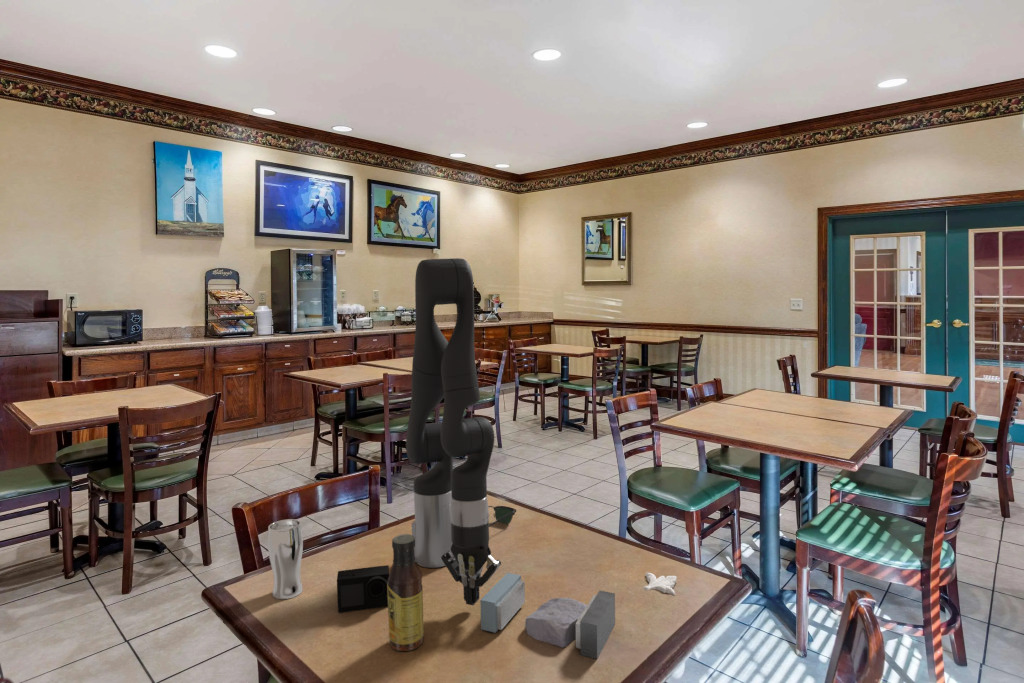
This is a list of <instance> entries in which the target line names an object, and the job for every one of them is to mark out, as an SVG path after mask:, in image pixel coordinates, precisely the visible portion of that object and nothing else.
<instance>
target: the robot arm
mask: <svg viewBox="0 0 1024 683" xmlns="http://www.w3.org/2000/svg"><path fill="white" fill-rule="evenodd" d="M414 283H415V284H414V288H415V289H414V290H415V292H414V294H415V295H414V296H415V301H414V302H415V303H414V304H415V306H414V307H415V332H414V341H413V342H414V343H413V344H414V345H413V354H412V363H411V364H412V368H411V397H410V408H409V416H408V422H407V430H406V439H405V449H406V450H405V451H406V456H407V458H408V460H409V461H410V462H411V463H413V464H428V463H429V464H430V463H436V464H435V465H434V466H433V467H432V468H430V469H429V470H427V471H426V472H424V473H422V474H420V475H418V476H417V477H416V478H415V479H414V482H413V496H414V497H413V499H414V501H413V502H414V520H413V521H411V535H413V536H414V537H415V547H414V557H415V563H416V564H417V565H418V566H421V567H423V568H432V569H433V568H434V569H435V568H442V567H446V569H447V570H448V572H449V574H451V577H452V578H453V580H454V581H455V582H458V583H461V584H462V586H463V589H462V590H463V599H464V601H465V604H466V605H469V606H474V605H475V604H477V602H478V601H479V600H480V588H482V587H483V586H484V585H485V584H486V583H487V582H488V581H489V580H490V579H491V577H492V576H493V575H494V574H495V572H496V571H497V570H498V569H499V567H501V565H502V562H501V560H500V559H495V558H494V557H493V556H492V551H491V547H489V544H490V527H489V525H490V524H489V522H490V521H489V520H490V513H489V512H490V511H489V507H488V506H489V502H488V492H487V491H488V489H487V488H488V487H487V483H488V482H487V475H488V470H489V466H490V462H491V458H492V453H493V450H494V445H495V430H494V428H493V425H492V423H491V422H490V420H489V419H488V418H486V417H482V416H475V417H470V418H469V417H468V418H464V413H465V410H466V409H467V408H469V407H471V406H473V405H476V404H477V403H479V401H480V396H481V395H480V388H479V387H480V386H479V378H478V373H477V366H476V355H475V287H474V286H475V285H474V276H473V273H472V268H471V266H470V264H469V261H467V260H466V259H464V258H461V257H460V258H453V257H452V258H430V259H429V258H428V259H423V260H421V261H419V263H418V264H417V267H416V270H415V278H414ZM436 305H437V306H439V305H442V306H443V305H455V306H456V320H455V326H454V329H453V332H452V334H451V336H450V338H449V341H448V340H447V338H446V337H445V335H444V333H442V331H441V329H440V328H439V326H438V324H437V322H436V319H435V313H434V312H435V307H436ZM443 399H444V403H443V411H442V412H443V413H442V421H441V422H431V423H430V422H429V423H427V420H429V419H428V418H429V417H430V415H431V414H432V413H433V411H434V409H436V407H437V406H438V405H439V404H440V403H441V402H442V400H443ZM464 456H465V457H466V456H468V457H467V458H466V460H465V461H464V462H463V463H461V464H460V465H457V466H456V467H454V464H453V463H454V462H453V461H454V458H459V457H464ZM485 563H486V566H485V567H486V570H485V572H484V573H483V574H482V571H483V566H484V565H485Z"/></svg>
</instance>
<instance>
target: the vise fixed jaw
mask: <svg viewBox="0 0 1024 683" xmlns="http://www.w3.org/2000/svg"><path fill="white" fill-rule="evenodd" d="M586 605H587V606H586V608H585V609H584V611H583V613H582V614H581V616H580V617H579V619H578V620H577V622H576V638H575V648H576V649H578V650H580V656H582V657H587V658H590V659H591V658H592V659H595V660H598V658H599V656H600V655H601V652H602V651H603V649H604V646H605V645H606V643H607V642H608V639H609V637H610V636H611V634H612V632H613V629H614V628H615V625H616V592H614V593H613V592H610V591H604V590H599V591H598V592H597V594H592V597H591V599H590V600H589V601H588V603H587V604H586Z"/></svg>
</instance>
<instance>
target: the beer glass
mask: <svg viewBox="0 0 1024 683" xmlns="http://www.w3.org/2000/svg"><path fill="white" fill-rule="evenodd" d="M303 538H304V537H303V530H302V521H301V520H299V519H292V518H288V519H281V520H278V521H277V520H276V521H274V522H272V523H270V524H269V525H268V534H267V547H268V548H267V549H268V550H267V551H268V557H269V562H270V566H271V570H272V575H273V587H272V588H273V589H272V597H273V598H274V599H276V600H289V599H293V598H296V597H297V596H299V595H301V593H303V584H302V579H301V568H302V566H301V565H302V558H303V548H304V543H303V542H304V539H303Z"/></svg>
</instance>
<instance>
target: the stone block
mask: <svg viewBox="0 0 1024 683" xmlns="http://www.w3.org/2000/svg"><path fill="white" fill-rule="evenodd" d="M587 605H588V604H586V603H584V602H581V601H579V600H577V599H574V598H570V597H555V598H550V599H548V601H546V602H544V603H542V604H541V605H540V606H539V607H538V608H537V609H536V610H535V611H533V612H531V614H529V615H528V616H527V617H526V618H525V621H524V623H525V624H524V627H525V629H526V633H527V635H528V636H529V637H531V638H533V639H534V640H537V641H540V642H543V643H548V644H550V645H553V646H557V647H558V648H562V649H563V648H565V647H567V646H568V645H569V644H571V643H572V642H573V641H574V640H576V622H577V620H578V619H579V617H580V616H581V614H582V613H583V611H584V609H585V608H586V606H587Z"/></svg>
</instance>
